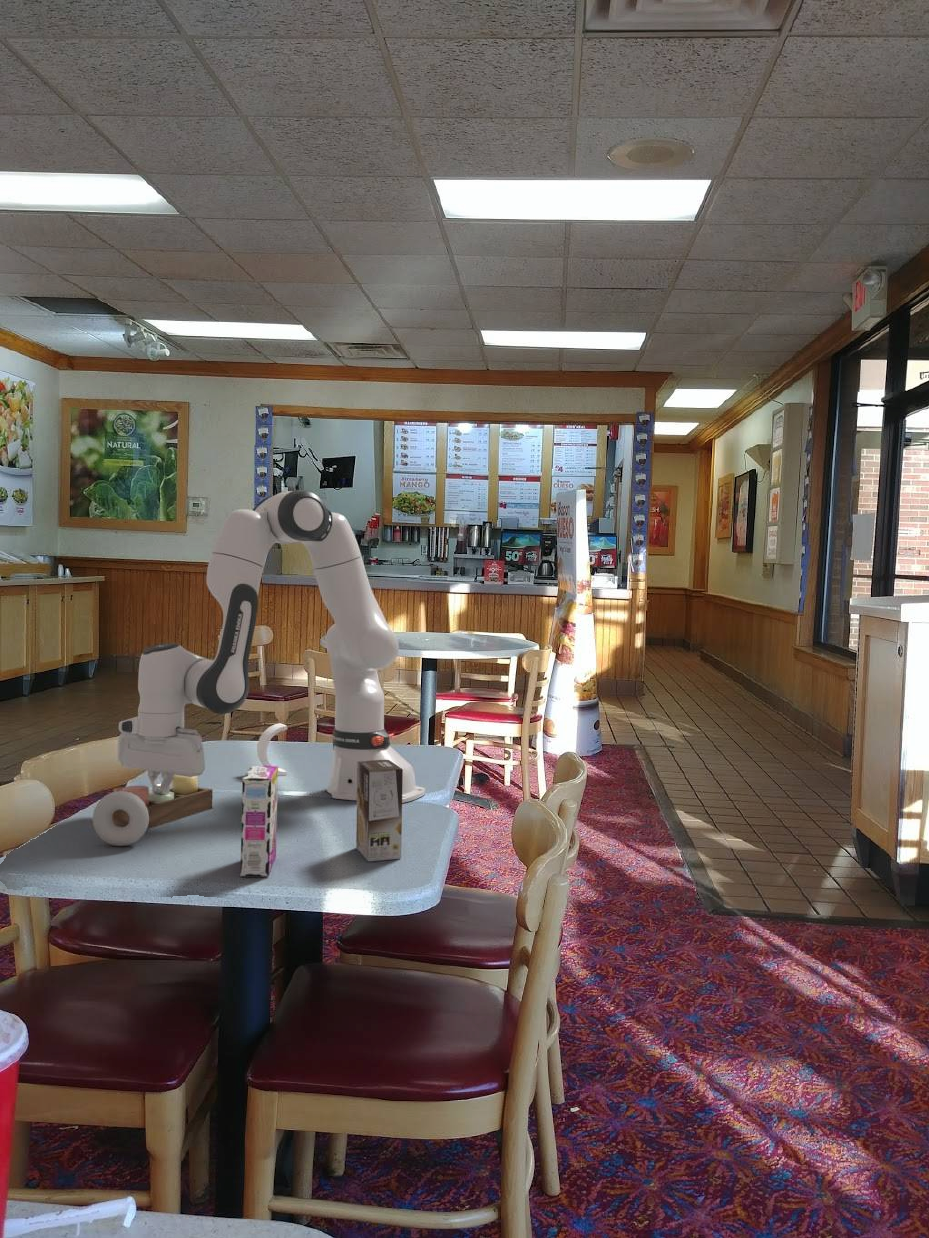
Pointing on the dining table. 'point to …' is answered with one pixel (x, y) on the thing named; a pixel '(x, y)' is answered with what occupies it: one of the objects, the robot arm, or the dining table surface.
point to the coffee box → (379, 810)
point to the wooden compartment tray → (171, 808)
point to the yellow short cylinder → (184, 785)
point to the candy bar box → (259, 821)
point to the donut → (106, 825)
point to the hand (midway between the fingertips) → (160, 793)
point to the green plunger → (161, 797)
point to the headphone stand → (264, 743)
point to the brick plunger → (139, 792)
